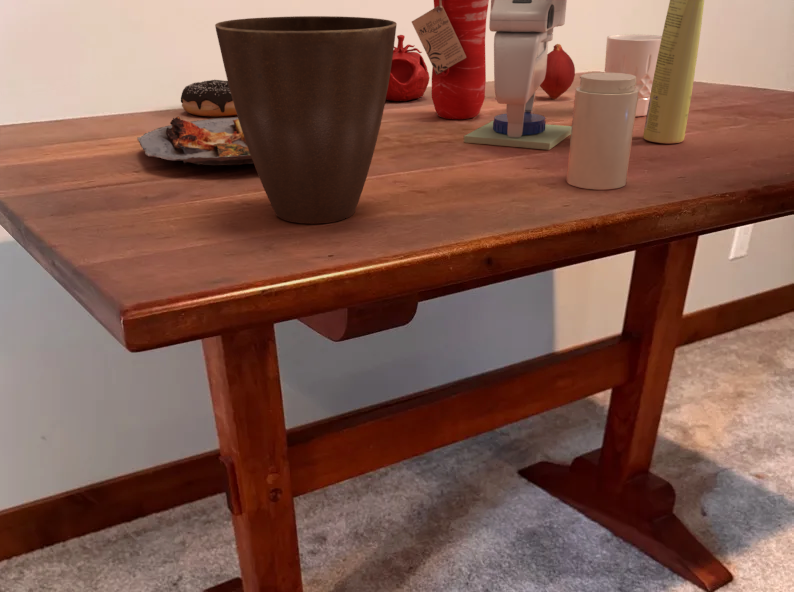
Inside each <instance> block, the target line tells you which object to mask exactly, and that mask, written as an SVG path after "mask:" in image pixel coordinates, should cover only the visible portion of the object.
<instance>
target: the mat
mask: <svg viewBox="0 0 794 592" xmlns="http://www.w3.org/2000/svg"><path fill="white" fill-rule="evenodd" d="M493 122H494V119H493V120H491V121H489V122H487V123H486V124H484V125H481V126H480V127H478V128H476V129H474V130H472V131H471V132H468V133H467V134H464V135H463V143H467V144H476V145H489V146H500V147H501V146H502V147H512V148H522V149H532V150H533V149H534V150H543V151H544V150H545V151H550V150H552V149H553V148H554V147H556V146H557V145H558V144H560V143H561V142H563V141H564V140H565V139H567V138H568V137H570V136H571V130H572V125H559V124H548V123H546V124H545V131H543V132H542V133H538V134H532V135H522V136H521V137H520V138H510V137H508V135H507V134H501V133H498V132H495V131H494V130H493Z"/></svg>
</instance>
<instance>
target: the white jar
mask: <svg viewBox="0 0 794 592" xmlns="http://www.w3.org/2000/svg"><path fill="white" fill-rule="evenodd" d="M579 79H580V83H579V86H577V87H576V88H575V91H574V99H573V100H574V101H573V111H572V121H571V126H572V130H571V134H570V142H569V151H568V152H569V153H568V161H567V172H566V179H565V181H566V183H567V184H568V185H570V186H572V187H575V188H580V189H585V190H586V189H587V190H594V191H595V190H596V191H597V190H599V191H600V190H601V191H606V190H607V191H608V190H615V189H619V188H623V187H624V186H626V184H627V180H628V179H627V178H628V171H629V165H630V157H631V151H632V144H633V143H632V142H633V137H634V129H635V121H636V117H635V115H636V107H637V100H638V93H639V90H638V89H636V88H635V86H637V83H636V76H634V75H631V74H624V73H606V72H605V71H603V72H591V73H590V72H589V73H584V74H581V75H580V76H579Z"/></svg>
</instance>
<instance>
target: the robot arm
mask: <svg viewBox="0 0 794 592" xmlns="http://www.w3.org/2000/svg"><path fill="white" fill-rule="evenodd" d="M567 1H568V0H490V12H489V25H488V28H489V31H490V32H495V33H494V37H493V73H494V74H493V77H494V83H493V84H494V94H495V100H496V102H497V104H500V105H506V109H505V110H506V114H507V120H508V130H507V135H508V137H510V138H520V137H521V136H522V134H523V129H524V113H531V114H533V109H534V103H535V100H536V95H537V93H536V91H537V90H538V89H539V87H540V85H541V83H542V82H543V81H544V79H545V75H546V68H547V54H548V53H549V52H548V51H549V42H551V41H553V39H554V28H558V27H562V26H564V25H565V23H566V13H567V12H566V11H567V3H568V2H567Z"/></svg>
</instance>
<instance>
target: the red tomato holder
mask: <svg viewBox="0 0 794 592" xmlns="http://www.w3.org/2000/svg"><path fill="white" fill-rule="evenodd" d="M396 37H397V46H394V50H393V58H392V65H391V72H390V78H389V85H388V90H387V95H386V100H385V101H389V102H407V101H412V100H418V99H420V98H422V97H423V96H424V94H425V92H426V91H427V88H428V85H429V82H430V73H429V70H428V67H427V64H426V62H425V60H424V57H423V56H422V55H421V54H422V53H423V51H420V50H419V48H416V47H415V44H413V45H412V44H406V45H405V46H404V41H405V35H404V34H399V35H396ZM409 48H411V49H409Z"/></svg>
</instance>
